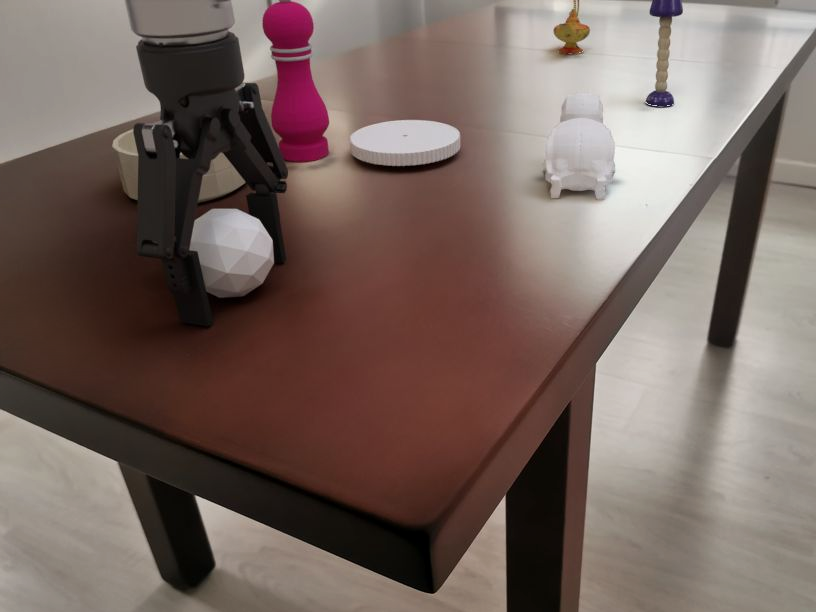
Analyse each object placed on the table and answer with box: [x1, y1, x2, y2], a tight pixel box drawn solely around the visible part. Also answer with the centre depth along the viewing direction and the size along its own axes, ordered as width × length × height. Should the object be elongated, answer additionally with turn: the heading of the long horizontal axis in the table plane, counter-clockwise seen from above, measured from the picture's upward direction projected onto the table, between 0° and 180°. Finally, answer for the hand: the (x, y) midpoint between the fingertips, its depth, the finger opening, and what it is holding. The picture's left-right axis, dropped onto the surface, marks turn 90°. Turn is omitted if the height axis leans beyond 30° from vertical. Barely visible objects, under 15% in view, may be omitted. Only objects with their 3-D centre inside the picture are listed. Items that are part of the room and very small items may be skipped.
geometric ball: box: [189, 208, 275, 299], centre depth 71 cm, size 8×8×8 cm
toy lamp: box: [644, 0, 684, 108], centre depth 117 cm, size 5×5×17 cm
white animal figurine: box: [542, 91, 616, 201], centre depth 93 cm, size 9×8×15 cm
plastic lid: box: [349, 119, 461, 167], centre depth 103 cm, size 14×14×2 cm
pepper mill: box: [262, 0, 330, 163], centre depth 99 cm, size 7×7×20 cm
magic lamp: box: [552, 0, 591, 55], centre depth 149 cm, size 7×18×11 cm, turn 165°
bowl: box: [111, 128, 247, 204], centre depth 94 cm, size 14×14×6 cm
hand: (236, 289), depth 72 cm, fingers open, 12 cm apart
